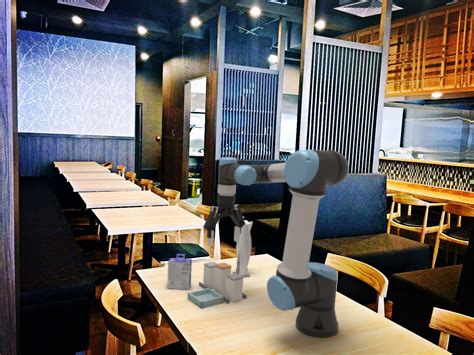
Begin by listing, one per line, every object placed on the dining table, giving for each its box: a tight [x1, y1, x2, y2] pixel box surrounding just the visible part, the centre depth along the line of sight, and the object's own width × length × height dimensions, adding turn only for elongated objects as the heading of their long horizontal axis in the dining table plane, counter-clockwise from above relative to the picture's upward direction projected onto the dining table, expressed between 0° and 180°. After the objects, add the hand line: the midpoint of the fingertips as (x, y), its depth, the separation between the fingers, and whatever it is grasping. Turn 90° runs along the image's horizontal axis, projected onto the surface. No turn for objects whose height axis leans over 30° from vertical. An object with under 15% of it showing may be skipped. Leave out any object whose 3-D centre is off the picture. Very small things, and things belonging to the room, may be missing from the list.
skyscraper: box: [231, 215, 253, 278], centre depth 197 cm, size 8×8×28 cm
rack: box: [198, 261, 248, 305], centre depth 175 cm, size 22×10×10 cm, turn 37°
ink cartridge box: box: [166, 253, 193, 290], centre depth 178 cm, size 10×6×14 cm, turn 89°
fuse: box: [213, 262, 232, 296], centre depth 175 cm, size 5×5×12 cm
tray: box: [187, 288, 225, 309], centre depth 165 cm, size 11×11×2 cm
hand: (223, 243), depth 173 cm, fingers open, 13 cm apart
